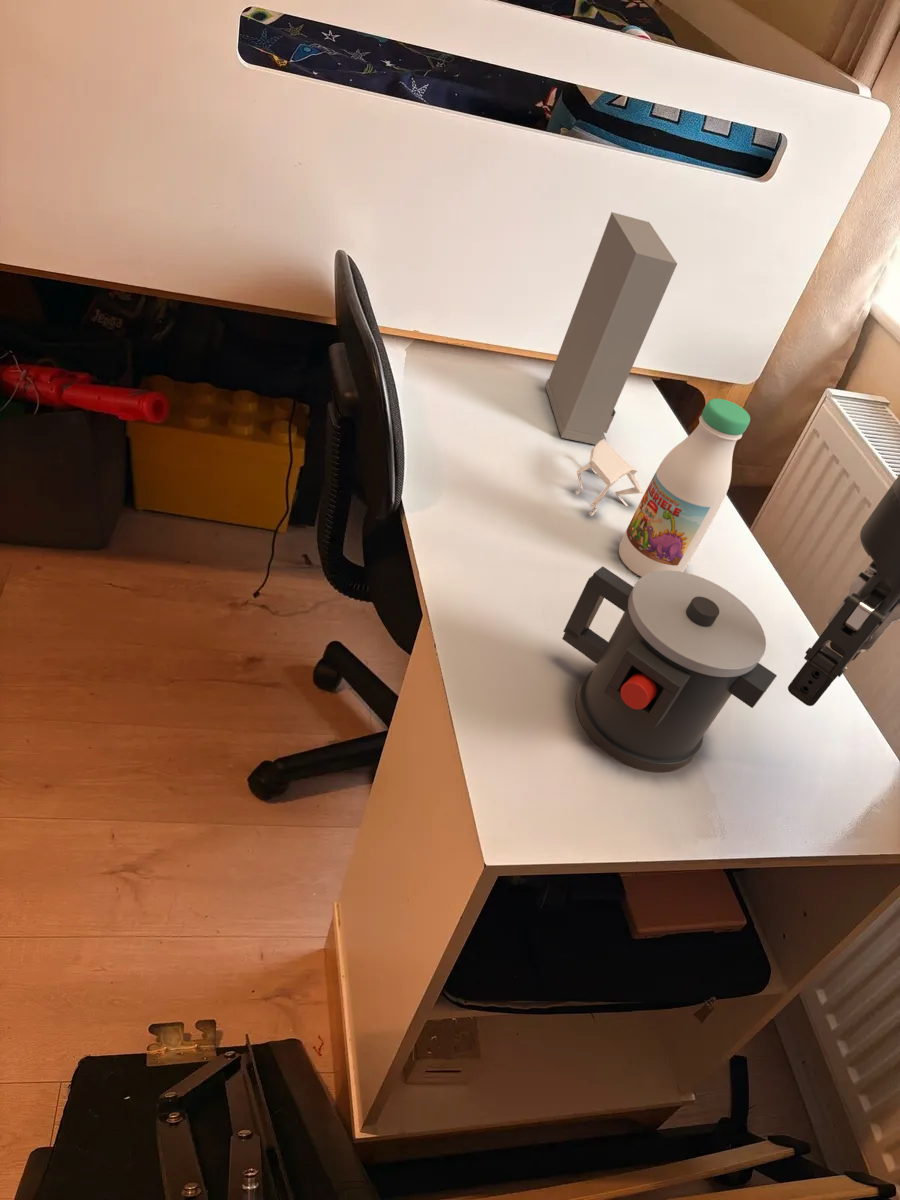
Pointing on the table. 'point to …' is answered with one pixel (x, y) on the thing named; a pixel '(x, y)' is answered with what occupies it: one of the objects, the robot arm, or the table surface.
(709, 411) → the milk bottle
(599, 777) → the table surface
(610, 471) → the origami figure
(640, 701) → the kettle button
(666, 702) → the kettle jug
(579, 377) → the tall grey pillar
